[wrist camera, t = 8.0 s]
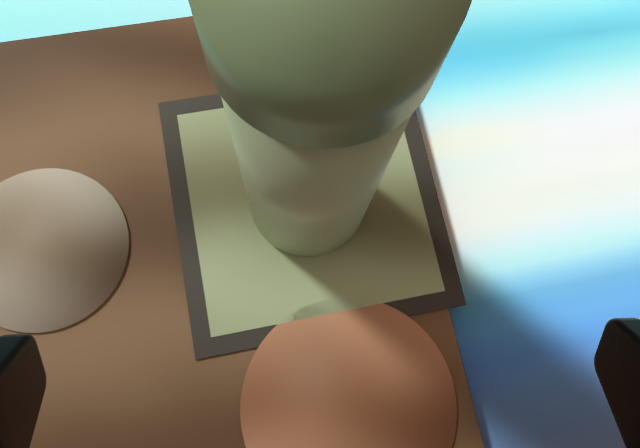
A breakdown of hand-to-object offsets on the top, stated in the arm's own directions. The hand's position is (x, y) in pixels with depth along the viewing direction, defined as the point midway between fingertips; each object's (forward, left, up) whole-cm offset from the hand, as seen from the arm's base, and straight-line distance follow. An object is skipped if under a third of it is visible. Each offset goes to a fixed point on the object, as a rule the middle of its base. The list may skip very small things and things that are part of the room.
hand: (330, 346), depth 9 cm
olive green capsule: (+5, -1, -10) cm, 11 cm away
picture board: (+4, +3, -10) cm, 12 cm away
